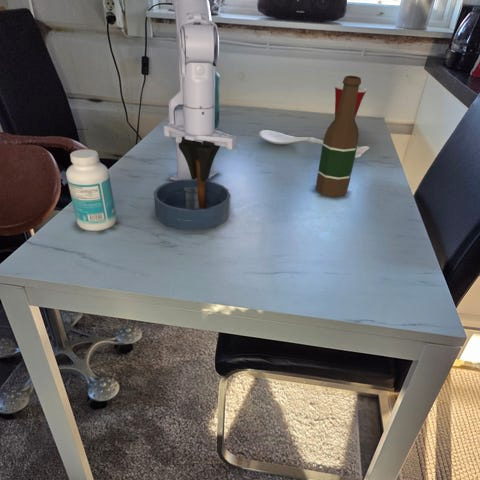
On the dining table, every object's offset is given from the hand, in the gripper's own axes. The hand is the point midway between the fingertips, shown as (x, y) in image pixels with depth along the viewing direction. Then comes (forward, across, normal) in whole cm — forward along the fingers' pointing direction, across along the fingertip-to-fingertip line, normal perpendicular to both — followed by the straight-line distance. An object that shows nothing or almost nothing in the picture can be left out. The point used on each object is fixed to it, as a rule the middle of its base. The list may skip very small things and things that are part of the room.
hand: (200, 178), depth 85 cm
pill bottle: (+7, -14, -15) cm, 22 cm away
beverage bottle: (+7, -26, +51) cm, 57 cm away
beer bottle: (+7, +22, +25) cm, 34 cm away
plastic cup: (+7, +10, +83) cm, 84 cm away
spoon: (+7, +8, +51) cm, 52 cm away
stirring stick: (+6, 0, +1) cm, 6 cm away
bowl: (+7, 0, -2) cm, 7 cm away
